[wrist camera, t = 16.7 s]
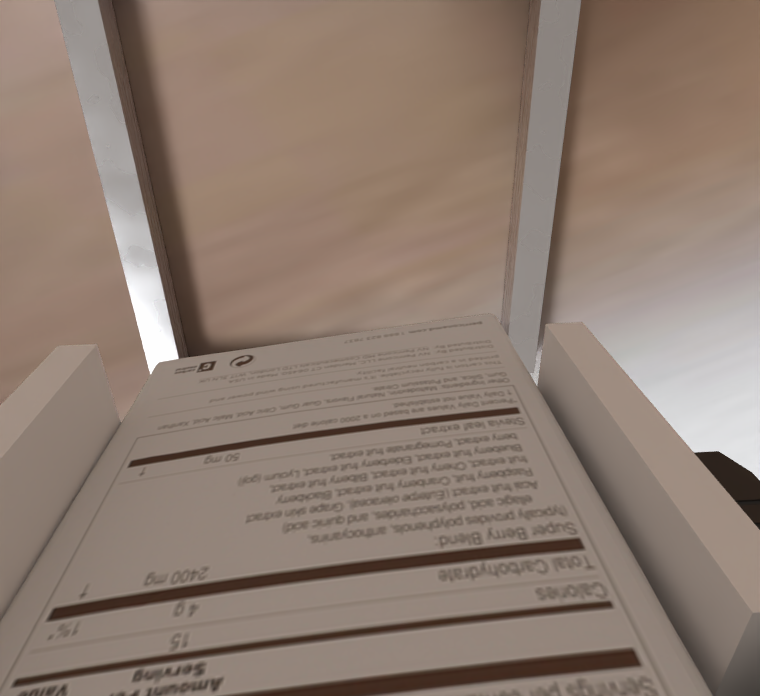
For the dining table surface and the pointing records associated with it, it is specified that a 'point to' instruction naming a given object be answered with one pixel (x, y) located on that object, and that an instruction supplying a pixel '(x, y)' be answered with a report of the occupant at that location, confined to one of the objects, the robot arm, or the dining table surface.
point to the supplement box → (342, 538)
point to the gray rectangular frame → (138, 208)
